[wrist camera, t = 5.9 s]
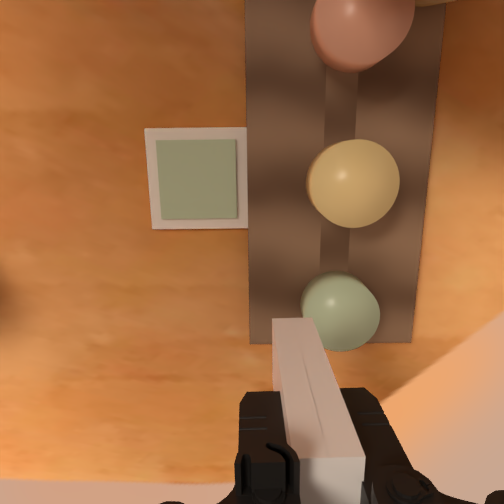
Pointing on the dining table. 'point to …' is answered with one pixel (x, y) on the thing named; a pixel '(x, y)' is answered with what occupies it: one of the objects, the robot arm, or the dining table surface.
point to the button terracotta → (358, 31)
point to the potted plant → (430, 2)
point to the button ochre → (353, 182)
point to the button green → (340, 310)
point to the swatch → (197, 177)
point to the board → (315, 140)
